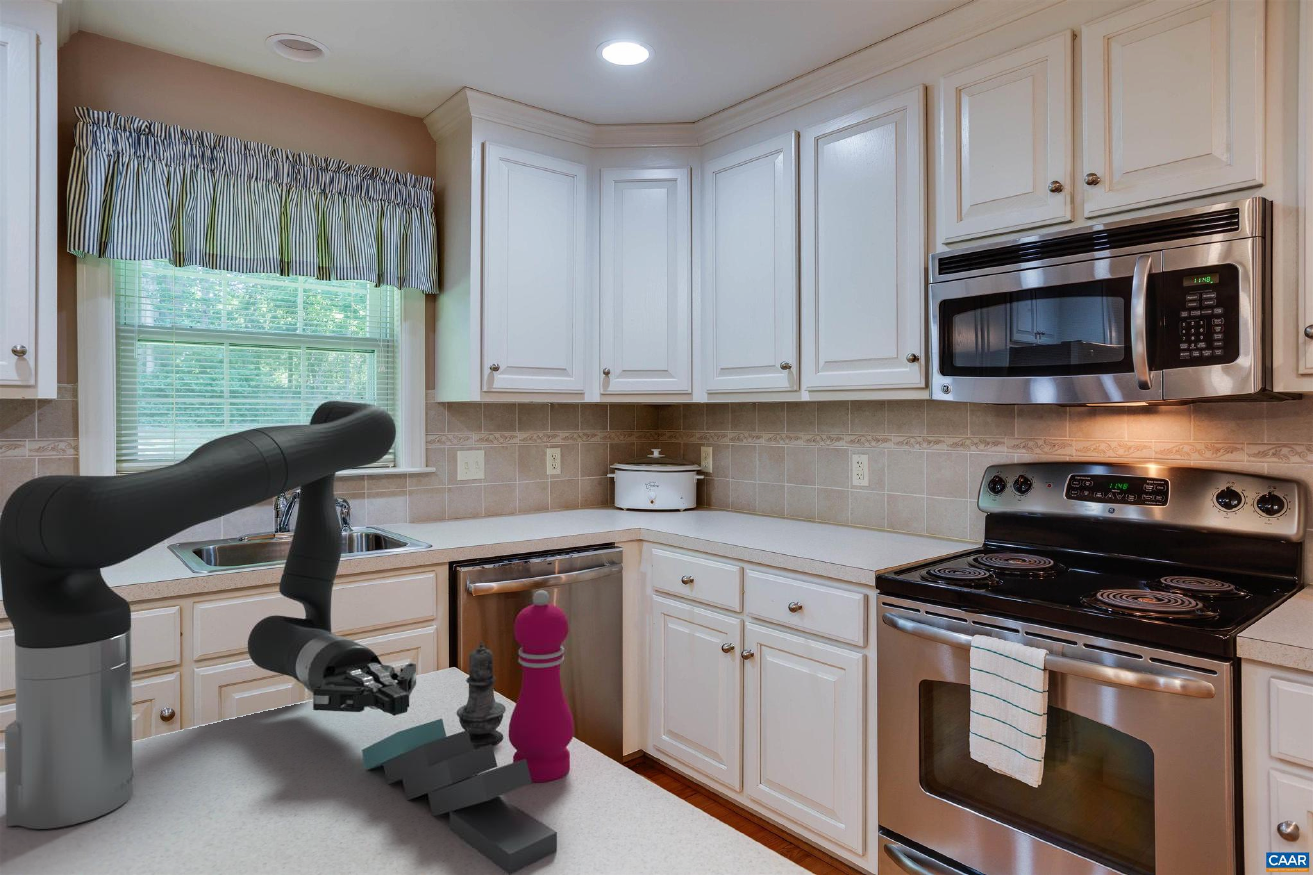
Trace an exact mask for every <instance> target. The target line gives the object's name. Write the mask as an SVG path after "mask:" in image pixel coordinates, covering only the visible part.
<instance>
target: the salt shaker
mask: <svg viewBox="0 0 1313 875" xmlns="http://www.w3.org/2000/svg"><path fill="white" fill-rule="evenodd" d="M484 645H485V644H484V643H483V641H482V640H481V641H480V642H479V643H478V647H477V648H476V649H474V650H473V651H471V652H470V654H469V663H468V664H469V665H468V666H469V674H468V675H469V676H468V677H467V678H466V679H465V680H466V683H467V684H468V697H467V702H466V704H464V705H462V706H460V707H459V708H458V709H457V710H456V716H457V717H458V719H459V720H458V721H459V724H460V726H461V728H462V730H463V731H466V730H468V733H469V737H470V741H471V745H472V748H473V749H478V748H481V747H484V746H487V745H490V744H492V747H494V746H496V745H498V744H500V743H501V742H502V741H503V740H504V734H503V733H502V732H500V731H499V730H497V729H498V727H500V725H501V723H502V722H503V718H504V714H505V712H506V711H507V709H506V706H505V705H504V703H503V704H502V703H501V702H498V701H497V702H496V699H495V693H494V692H495V691H494V689H495V687H494V685H495V682H496V681H497V677H496V676H495V675H494V655H493V652H492V651H491V649H488V648H485V647H484Z"/></svg>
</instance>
